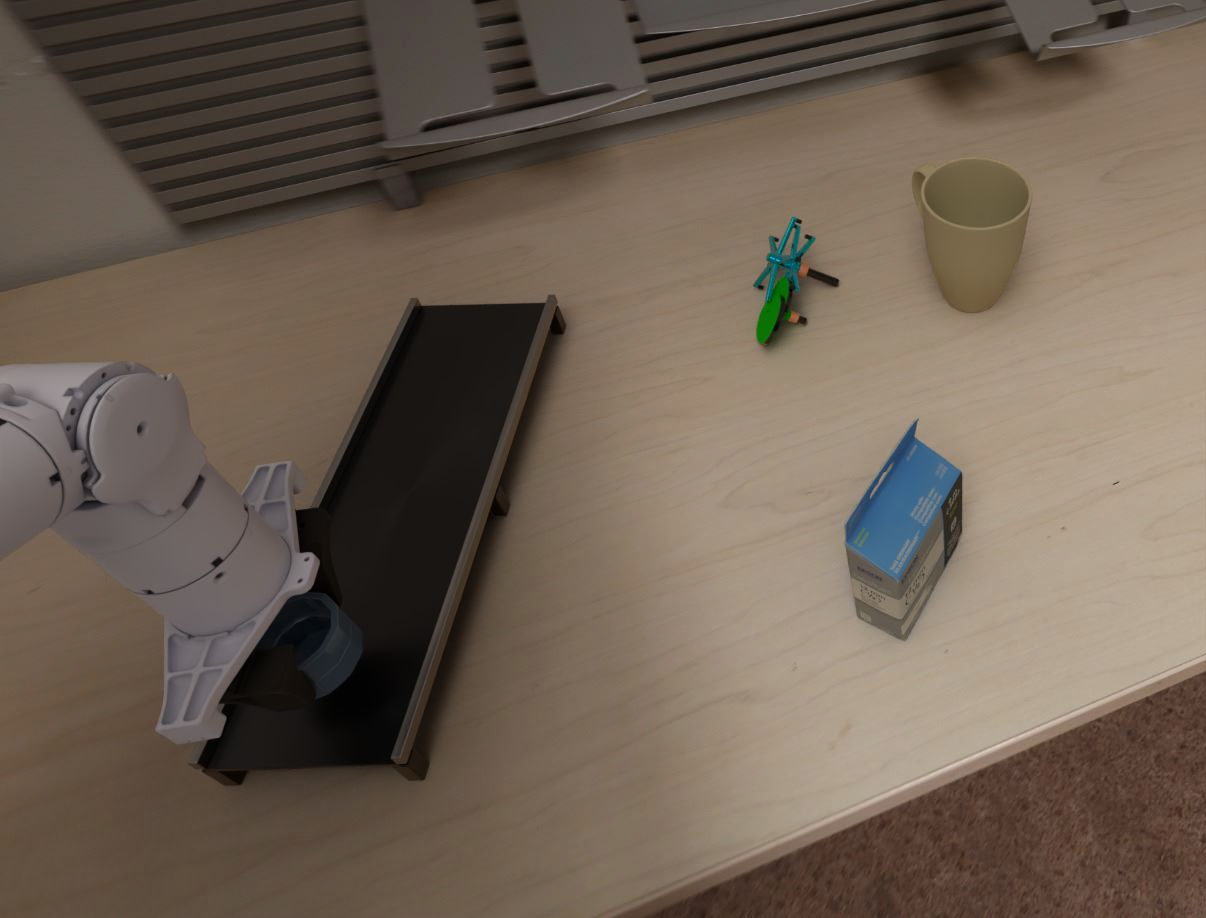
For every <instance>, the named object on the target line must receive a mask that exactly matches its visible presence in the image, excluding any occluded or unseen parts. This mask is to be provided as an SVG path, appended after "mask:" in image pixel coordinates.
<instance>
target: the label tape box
mask: <svg viewBox="0 0 1206 918" xmlns="http://www.w3.org/2000/svg"><path fill="white" fill-rule="evenodd" d="M919 420H920V418H918V417H917V418H916V419H914V420H913V421H912V422H911V424H910V425H909V426H908V427H907V429H906V430H905V431H904V433H903V435H902V436H901V437H900V439H899V440H898V442H897V443H896V444H895V446H894V447H893V449H892V450H891V451H890V453H889V455H888V456H887V457H886V459H885V461H884V462H883V464H882V465H881V467H880V468H879V469H878V471H877V472H876V474H875V476H874V477H873V478H872V480H871V482H870V483H869V485H868V486H867V488H866V489H865V490H864V492H863V494H862V495H861V497H860V498H859V500H858V501H857V503H856V504H855V506H854V508H853V509H852V510H851V512H850V514H849V515H848V517H847V518H846V519H845V521H844V548H845V552H846V553H845V554H846V561H847V566H848V571H849V577H850V584H851V589H852V594H853V599H854V605H855V611H856V617H857V618H858V619H860V620H862V621H864V622H866V623H867V624H870V626H874V627H875V628H878V629H880V630H881V631H884V632H885V633H887V634H889V635H892V636H893V637H895V638H897V639H899V640H900V641H904V642H905V641H906V640H907V638H908V637H909V634H910V633H911V631H912V630H913V628H914V626H915V624H916V622H917V620H918V618H919V616H920V615H921V613H922V612H923V609H924V607H925V606H926V605H927V602H928V600H929V598H930V596H931V594H932V592H933V591H934V588H935V587H936V585H937V583H938V581H939V579H940V578H941V575H942V573H943V571H944V570H945V568H946V566H947V565H948V562H949V561H950V559H951V557H952V555H953V553H954V551H956V549H957V546H958V545H959V542H960V540H961V539H962V536H963V478H964V477H963V471H962V470H961V469H959V468H958V467H956V466H955V465H954V464H952V463H951V462H950V461H948V459H946V458H944V457H943V456H942V455H940V454H939V453H938V452H936V451H935V450H934V449H932V448H931V447H929V446H928V445H927V444H925V443H924V442H922V441H921V440H920V439H918V438H917V437H916V436H915V435H916V432H917V427H918V422H919ZM884 474H885V475H884ZM883 475H884V476H883ZM882 477H883V478H882ZM881 478H882V479H881ZM880 480H881V481H880ZM875 488H876V489H875ZM873 491H874V492H873Z"/></svg>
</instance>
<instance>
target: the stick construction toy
mask: <svg viewBox="0 0 1206 918" xmlns="http://www.w3.org/2000/svg"><path fill="white" fill-rule="evenodd" d="M802 223H803V220H802V219H800V218H798V217H795V216H792V217H791V219H790V221H789V222H788V225H787V227H786V229H785V231H784V234H783V236H782V238H781V239H780V238H778V237H776V236H774V235H772V234H770V235H769V236H768V245H769V248H770V249H769V250H770V252H769V253H767V255H766V257H765V260H766V262H768V263H767V264H766V266H765V268H764V269H763V270H762V272H761V273H760V274H759V276H758V277H757V278H756V280H755V281H754V283H753V284H752V287H753V288H755V289H757V290H758V289H759V290H764V288H765V286H764V285H763V284H762V283H763V282H764V281H765V279H766V278H767V277H768V275H769V277H768V283H767V289H766V294H765V300H764V301H765V302H764V305H763V307H762V309H761V311H760V312H759V315H758V318H757V322H756V330H755V336H756V340H757V342H758V343H759V344H761V345H764V346H768V345H769V344H770V343H771V342H772V340H773V339H774V337H775V336H776V334H777V331H778V329H779V327H780V325H781V322H782V320H784V321H787V322H790V323H793V324H796V323H798V324H800V325H806V324H807V321H808V318H807V317H806V316H803V315H800V313H799V312H796V311H794V310H792V309H790V307H791V302H792V299H793V293H794V292H797V293H799V292H800V289H801V288H800V283H799V278H801V279H804V278H805V277H808V278H811V279H813V280H816V281H819V282H822V283H824V284H827V285H830V286H832V287H837V286H838V285H839V283H840V279H839V278H837V277H835V276H832V275H829V274H828V273H824V272H822V271H819V270H816V269H814V268H811V267H810V264H809V263H808V262H805V261H803V260H802V258H803V256H805V254H806V253H807V251H808V250H809V249H810V248H811V247H812V245H813V244H814V242H815V241H816V239H817V238H816V236H813V235H810V234H808V233H805V234H804V239H805V240H807V241H805V243H804V244H803V245H802V246H801V248H800V249H799V250H798V247H799V240H800V235H801V229H802V226H801V225H802ZM793 229H794V233H793V238H792V242H791V247H790V251H789V254H783V253H784V251H785V248H786V246H787V243H788V241H789V239H790V236H791V234H792V232H793ZM777 243H779V244H778V247H777ZM778 271H784V272H783V274H782V276H781V277H779V279H778V281H777V282H776V278H777V273H778ZM775 282H776V283H775Z"/></svg>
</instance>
